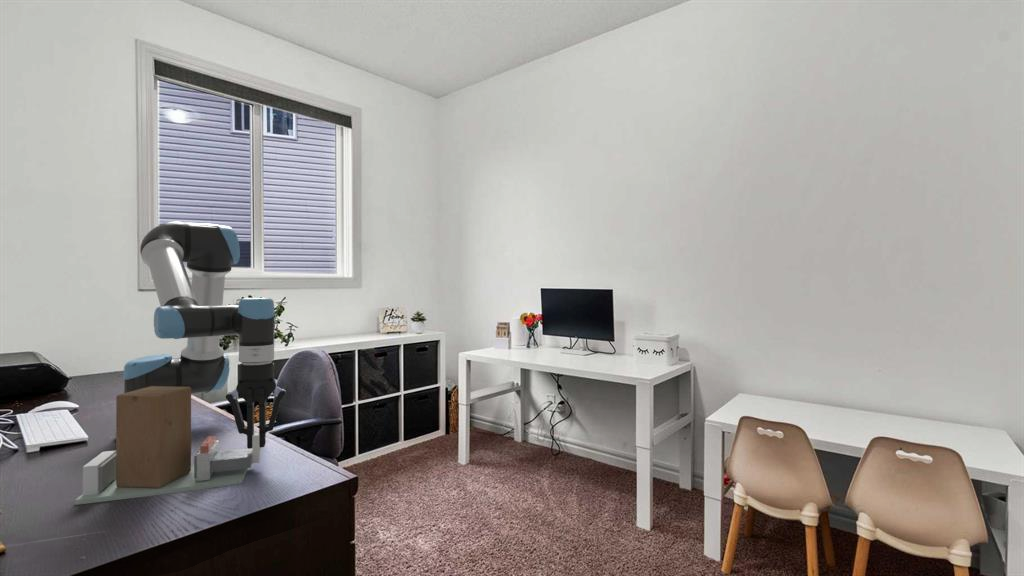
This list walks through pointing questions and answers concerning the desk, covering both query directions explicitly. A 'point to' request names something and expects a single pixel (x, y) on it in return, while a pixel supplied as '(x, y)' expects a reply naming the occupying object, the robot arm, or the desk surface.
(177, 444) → the wooden block
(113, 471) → the vise bed
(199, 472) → the free jaw
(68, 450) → the desk surface
